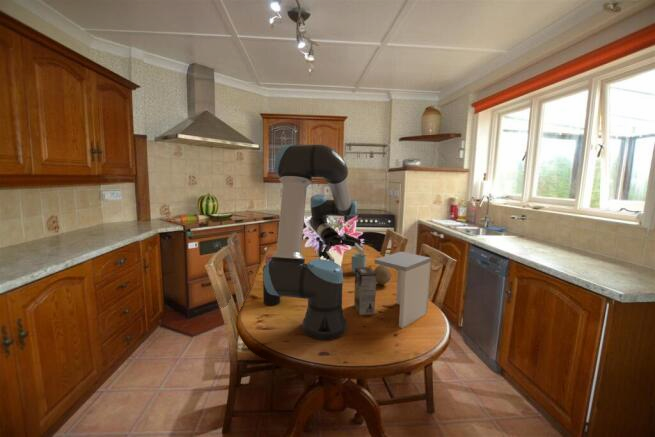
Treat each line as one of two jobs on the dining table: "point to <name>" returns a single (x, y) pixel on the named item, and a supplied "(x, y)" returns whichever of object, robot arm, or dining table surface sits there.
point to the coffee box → (365, 290)
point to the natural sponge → (383, 274)
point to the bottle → (267, 297)
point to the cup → (358, 261)
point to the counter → (410, 284)
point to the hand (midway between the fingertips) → (348, 257)
